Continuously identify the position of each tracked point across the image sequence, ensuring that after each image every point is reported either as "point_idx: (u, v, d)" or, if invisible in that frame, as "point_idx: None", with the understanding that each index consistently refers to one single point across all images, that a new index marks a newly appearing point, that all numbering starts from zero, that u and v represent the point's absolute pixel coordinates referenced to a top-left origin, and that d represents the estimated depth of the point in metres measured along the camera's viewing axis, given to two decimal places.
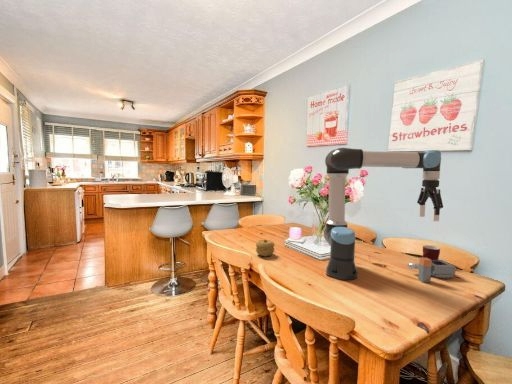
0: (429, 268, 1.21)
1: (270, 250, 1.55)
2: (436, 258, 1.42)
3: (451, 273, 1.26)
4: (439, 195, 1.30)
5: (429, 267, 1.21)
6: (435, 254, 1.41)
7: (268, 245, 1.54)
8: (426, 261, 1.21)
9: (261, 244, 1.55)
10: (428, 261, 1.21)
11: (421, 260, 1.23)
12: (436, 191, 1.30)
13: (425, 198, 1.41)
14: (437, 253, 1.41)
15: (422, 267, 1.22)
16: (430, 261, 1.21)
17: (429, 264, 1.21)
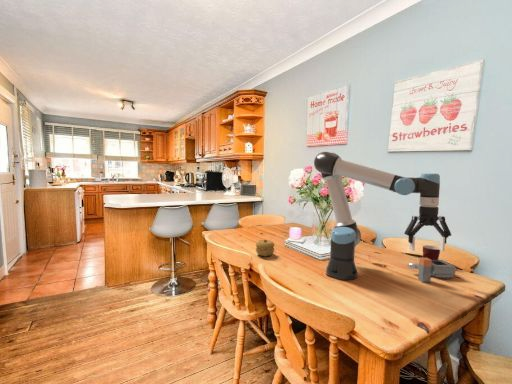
0: (429, 268, 1.21)
1: (270, 250, 1.55)
2: (436, 258, 1.42)
3: (451, 273, 1.26)
4: (412, 222, 1.21)
5: (429, 267, 1.21)
6: (435, 254, 1.41)
7: (268, 245, 1.54)
8: (426, 261, 1.21)
9: (261, 244, 1.55)
10: (428, 261, 1.21)
11: (421, 260, 1.23)
12: (412, 218, 1.22)
13: (436, 228, 1.21)
14: (437, 253, 1.41)
15: (422, 267, 1.22)
16: (430, 261, 1.21)
17: (429, 264, 1.21)
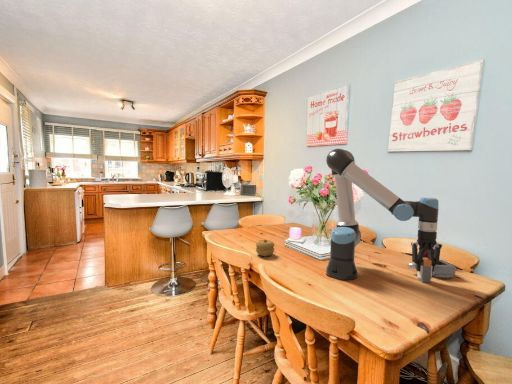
0: (429, 268, 1.21)
1: (270, 250, 1.55)
2: None
3: (451, 273, 1.26)
4: (414, 250, 1.22)
5: (429, 267, 1.21)
6: None
7: (268, 245, 1.54)
8: (426, 261, 1.21)
9: (261, 244, 1.55)
10: (428, 261, 1.21)
11: None
12: None
13: (429, 253, 1.22)
14: None
15: None
16: (430, 261, 1.21)
17: (429, 264, 1.21)
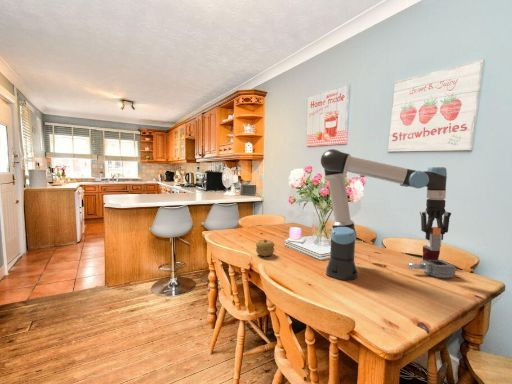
0: (438, 236, 1.23)
1: (270, 250, 1.55)
2: (436, 258, 1.42)
3: (451, 273, 1.26)
4: (423, 219, 1.24)
5: (438, 235, 1.23)
6: (435, 254, 1.41)
7: (268, 245, 1.54)
8: (435, 229, 1.23)
9: (261, 244, 1.55)
10: (437, 229, 1.23)
11: None
12: (420, 214, 1.25)
13: (438, 222, 1.24)
14: (437, 253, 1.41)
15: None
16: (439, 229, 1.23)
17: (438, 232, 1.23)
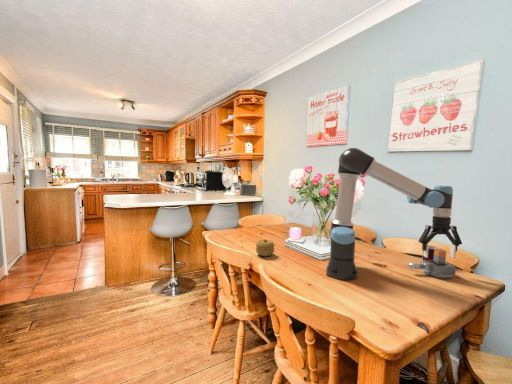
0: (443, 258, 1.29)
1: (270, 250, 1.55)
2: None
3: (451, 273, 1.26)
4: (426, 231, 1.30)
5: (444, 258, 1.29)
6: None
7: (268, 245, 1.54)
8: (441, 252, 1.28)
9: (261, 244, 1.55)
10: (443, 252, 1.28)
11: (436, 251, 1.30)
12: (426, 227, 1.31)
13: (448, 236, 1.30)
14: None
15: (437, 257, 1.29)
16: (445, 252, 1.28)
17: (444, 255, 1.28)
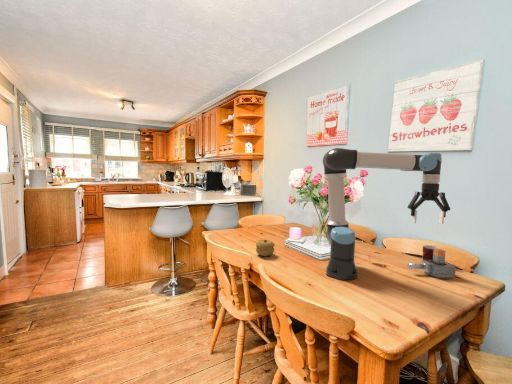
0: (443, 258, 1.29)
1: (270, 250, 1.55)
2: None
3: (451, 273, 1.26)
4: (415, 197, 1.34)
5: (443, 257, 1.29)
6: None
7: (268, 245, 1.54)
8: (440, 252, 1.29)
9: (261, 244, 1.55)
10: (442, 252, 1.29)
11: (435, 251, 1.31)
12: (415, 193, 1.35)
13: (437, 203, 1.34)
14: None
15: (436, 257, 1.30)
16: (444, 252, 1.29)
17: (443, 254, 1.29)
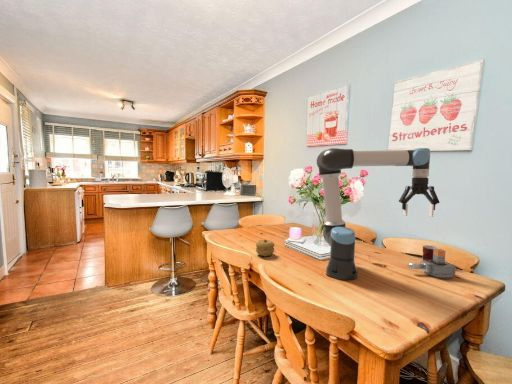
0: (443, 258, 1.29)
1: (270, 250, 1.55)
2: None
3: (451, 273, 1.26)
4: (406, 191, 1.38)
5: (443, 257, 1.29)
6: None
7: (268, 245, 1.54)
8: (440, 252, 1.29)
9: (261, 244, 1.55)
10: (442, 252, 1.29)
11: (435, 251, 1.31)
12: (406, 187, 1.40)
13: (426, 196, 1.39)
14: None
15: (436, 257, 1.30)
16: (444, 252, 1.29)
17: (443, 254, 1.29)
